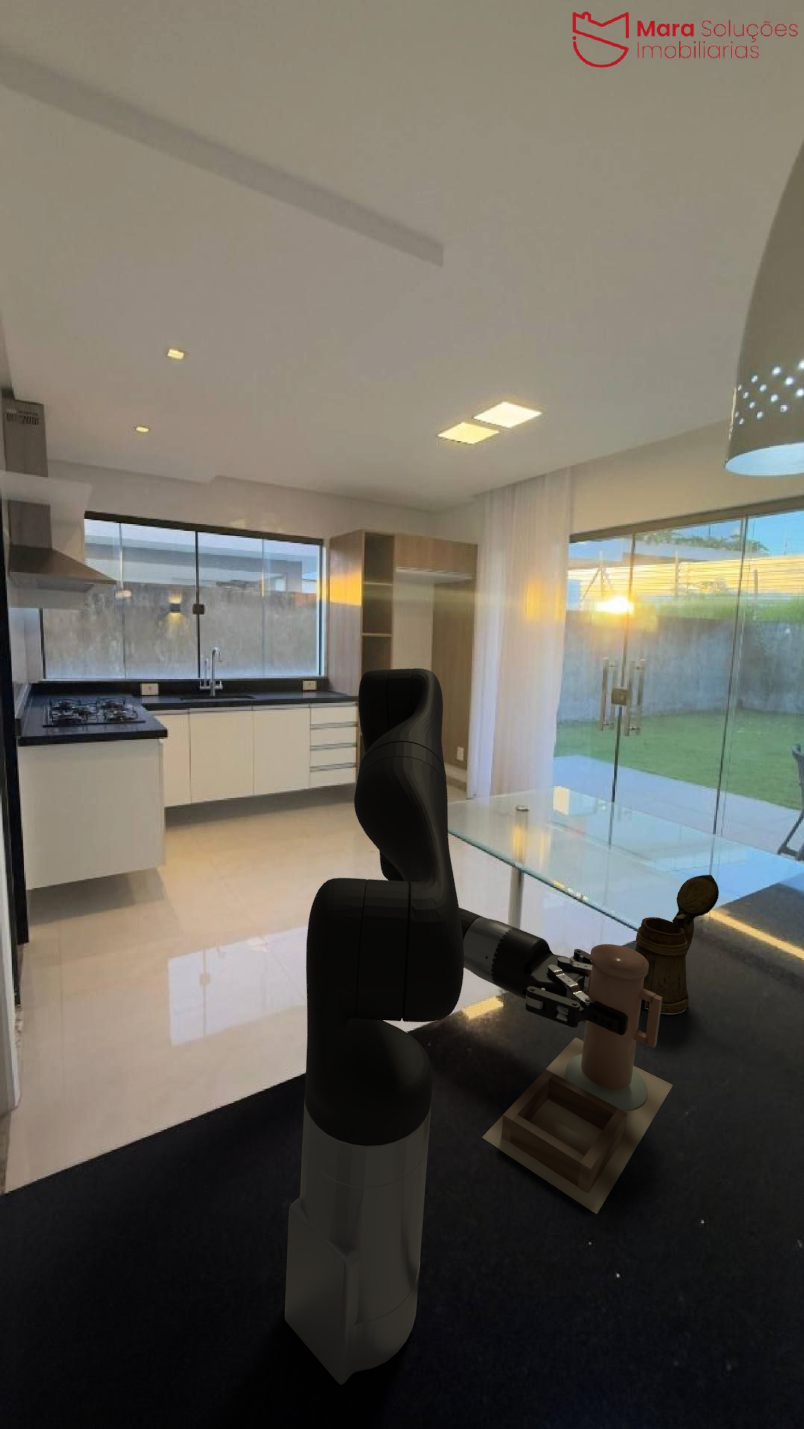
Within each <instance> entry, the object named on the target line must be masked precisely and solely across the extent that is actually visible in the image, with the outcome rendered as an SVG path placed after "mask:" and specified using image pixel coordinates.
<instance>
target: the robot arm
mask: <svg viewBox="0 0 804 1429" xmlns="http://www.w3.org/2000/svg"><path fill="white" fill-rule="evenodd" d="M357 696H358V697H357V698H358V700H357V702H358V703H357V705H358V706H357V707H358V716H359V724H360V730H361V737H362V742H363V749H364V755H363V757H362V759H361V761H360V766H359V769H358V774H357V779H356V784H355V790H354V797H353V805H354V806H353V807H354V811H355V812H354V813H355V816H356V818H357V821H358V822H359V825H360V826H361V828H362V830H363V832H364V834H365V835H366V837H368V838H369V840H370V841H371V842H372V843H373V845H374V846H375V847H376V848H377V849H378V851H379V865H380V870H381V873H382V875H383V877H384V878H385V879H374V878H373V879H372V878H368V879H367V878H358V877H357V878H355V877H354V878H353V877H334V878H330V879H328V880H326V881H324V882H323V883H322V884H321V886H320V887H319V889H318V890H317V892H316V894H315V895H314V896H315V897H314V898H313V901H312V903H311V904H312V905H311V906H310V907H311V908H310V911H309V918H308V922H307V923H308V924H307V933H306V945H305V946H306V947H305V949H306V950H305V952H306V954H305V955H306V956H305V965H306V966H305V975H306V976H305V979H306V1058H305V1059H306V1060H305V1080H304V1081H305V1084H304V1101H303V1102H304V1103H303V1104H304V1105H303V1126H302V1148H301V1165H300V1166H301V1168H300V1190H299V1191H300V1192H299V1193H300V1195H299V1197H298V1198H297V1199H295V1200H294V1201H293V1202H292V1203H291V1204H290V1205H289V1210H288V1223H287V1224H288V1226H287V1227H288V1228H287V1229H288V1230H287V1247H286V1248H287V1251H286V1252H287V1253H286V1255H287V1256H286V1275H285V1276H286V1277H285V1298H284V1300H285V1301H284V1303H285V1304H284V1320H285V1322H286V1323H287V1324H288V1325H289V1327H290V1328H291V1330H293V1331H294V1333H295V1334H296V1335H297V1336H298V1338H299V1339H300V1340H301V1341H302V1342H303V1343H304V1345H305V1346H306V1347H307V1348H308V1349H309V1350H310V1352H311V1353H312V1354H313V1355H314V1356H315V1358H316V1359H317V1360H318V1361H319V1362H320V1363H321V1365H322V1366H323V1367H324V1368H325V1369H326V1371H328V1374H330V1375H331V1376H332V1378H333V1379H334V1380H335V1381H336V1382H337V1383H338V1385H344V1384H345V1383H346V1382H347V1380H348V1379H349V1378H350V1377H352V1376H353V1375H354V1373H357V1372H360V1371H365V1370H371V1369H375V1368H377V1367H378V1366H380V1365H382V1364H385V1363H386V1362H388V1361H389V1360H390V1359H392V1358H393V1357H394V1356H395V1355H396V1354H397V1353H398V1352H399V1351H400V1350H401V1349H402V1347H403V1346H404V1345H405V1343H406V1342H407V1340H408V1339H409V1336H410V1335H411V1332H412V1330H413V1329H414V1328H413V1327H414V1323H415V1320H416V1316H417V1307H418V1306H417V1305H418V1304H417V1303H418V1295H419V1294H418V1293H419V1292H418V1291H419V1281H420V1280H419V1278H420V1265H421V1253H422V1252H421V1251H422V1236H423V1235H422V1234H423V1224H424V1223H423V1220H424V1208H425V1192H426V1180H427V1179H426V1178H427V1163H428V1151H429V1150H428V1149H429V1139H430V1126H431V1125H430V1124H431V1113H432V1111H431V1110H432V1098H433V1097H432V1096H433V1087H434V1086H433V1084H434V1079H433V1077H434V1076H433V1066H432V1063H431V1060H430V1057H429V1055H428V1053H427V1052H426V1050H425V1048H424V1047H423V1046H422V1044H420V1042H419V1041H418V1040H417V1039H416V1038H414V1036H412V1035H411V1034H409V1032H406V1031H405V1030H403V1029H401V1028H400V1027H398V1026H397V1025H394V1024H391V1023H389V1022H401V1021H402V1022H404V1023H408V1022H409V1023H432V1022H438V1021H441V1020H444V1019H445V1018H447V1017H449V1016H450V1015H451V1014H452V1013H453V1011H454V1010H455V1008H456V1006H457V1005H458V1003H459V1000H460V996H461V993H462V989H463V983H464V982H463V981H464V973H465V972H464V970H465V969H466V970H468V971H469V972H471V973H472V974H473V975H475V976H476V977H478V978H480V979H482V980H484V981H486V982H488V983H490V984H492V985H495V986H496V987H499V988H500V989H503V990H505V991H507V992H509V993H511V994H513V995H515V996H517V997H519V998H521V999H523V1000H525V1010H526V1011H527V1012H529V1013H532V1014H534V1015H537V1016H540V1017H542V1018H545V1019H548V1020H551V1021H553V1022H556V1023H559V1024H562V1025H565V1026H568V1027H570V1028H574V1029H575V1028H578V1026H579V1023H581V1022H582V1023H583V1024H586V1023H589V1022H593V1023H595V1024H597V1025H599V1026H601V1027H604V1028H605V1029H608V1030H610V1031H612V1032H615V1033H617V1034H619V1035H624V1034H625V1032H626V1031H627V1026H628V1016H627V1015H626V1014H625V1013H623V1012H621V1011H618V1010H616V1009H614V1008H612V1007H609V1006H606V1005H604V1004H602V1003H600V1002H598V1001H595V1002H594V1003H592V1002H593V1001H592V999H591V998H590V997H589V988H590V979H591V970H592V963H591V961H590V954H591V953H588V952H587V951H585V950H583V949H581V948H575V949H574V950H573V955H572V956H570V957H568V956H565V955H559V954H556V953H555V954H554V952H553V951H552V950H551V948H550V945H549V943H548V941H547V940H546V939H544V938H543V937H540V936H538V935H535V934H534V933H531V932H527V931H525V930H522V929H520V928H518V927H514V926H512V925H510V924H508V923H504V922H503V921H500V920H496V919H492V918H489V917H488V918H487V917H485V916H482V915H480V914H477V913H474V912H473V911H469V910H467V909H466V908H465V909H464V908H463V907H460V906H459V905H460V904H459V900H458V895H457V894H458V893H457V888H456V882H455V875H454V870H453V864H452V859H451V852H450V845H449V844H450V843H449V824H448V823H449V816H448V815H449V811H448V810H449V809H448V807H449V806H448V804H449V803H448V802H449V801H448V799H449V798H448V787H447V786H448V785H447V783H448V782H447V773H446V767H445V766H446V765H445V760H444V759H445V758H444V752H443V742H442V740H443V739H442V738H443V737H442V734H443V716H444V714H443V713H444V702H443V701H444V700H443V699H444V698H443V691H442V687H441V683H440V680H439V679H438V677H437V676H436V674H435V673H434V672H433V671H431V670H430V669H426V668H421V667H420V668H417V667H415V668H414V667H413V668H393V669H391V668H390V669H388V668H387V669H374V670H368V671H365V672H364V673H363V675H362V676H361V679H360V681H359V686H358V695H357ZM586 977H587V978H588V980H587V983H586V982H585V980H586ZM585 983H586V985H585ZM646 1006H647V1001H645V1000H643V999H642V1000H641V1008H640V1012H643V1011H644V1009H645V1008H646ZM558 1008H559V1009H560V1010H562V1011H563V1012H564V1013H562V1012H560V1011H559V1010H558Z"/></svg>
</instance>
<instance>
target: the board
mask: <svg viewBox="0 0 804 1429" xmlns="http://www.w3.org/2000/svg"><path fill="white" fill-rule="evenodd" d="M583 1042H584V1040H582V1039H580V1038H577V1037H574V1038H573V1040H571V1042H570V1043H569V1044H568V1045H567V1046H566V1047H565V1048H564V1049H563V1050H562V1051H561V1052H560V1054H559V1055H557V1057H556V1058H555V1059H554V1060H553V1061H552V1062H551V1063H550V1064H549V1065H548V1066H547V1067H546V1068H545V1069H544V1071H542V1072H541V1073H540V1075H538V1077H537V1078H536V1079H535V1080H534V1081H533V1082H532V1083H531V1084H530V1085H529V1086H528V1087H527V1088H526V1089H525V1090H524V1092H523V1093H522V1094H521V1095H519V1097H518V1098H517V1099H516V1101H515V1102H513V1103H512V1105H511V1106H510V1107H509V1108H508V1109H507V1110H506V1111H505V1112H504V1113H503V1114H502V1115H501V1116H500V1117H499V1119H498V1120H497V1121H496V1122H495V1123H494V1124H493V1125H492V1126H491V1127H490V1128H489V1129H488V1130H487V1131H486V1132H485V1133H484V1135H482V1136H481V1138H482V1139H484V1140H485V1141H486V1142H488V1143H489V1144H491V1145H492V1146H494V1147H495V1148H497V1149H498V1150H499V1151H501V1152H503V1153H505V1154H506V1155H507V1156H508V1157H510V1158H512V1159H513V1160H515V1161H516V1162H518V1163H519V1164H521V1165H522V1166H524V1167H525V1168H527V1169H528V1170H529V1171H531V1172H533V1173H534V1174H535V1175H537V1176H539V1177H540V1178H542V1179H543V1180H544V1181H546V1182H548V1183H549V1184H550V1185H552V1187H553V1186H554V1187H555V1188H556V1189H558V1190H560V1191H561V1192H562V1193H564V1194H565V1195H567V1196H568V1197H569V1198H571V1199H573V1200H575V1201H576V1202H577V1203H579V1204H581V1205H582V1206H583V1207H585V1208H586V1209H588V1210H589V1211H591V1212H592V1213H594V1214H595V1215H597V1214H599V1211H600V1209H601V1208H602V1206H603V1204H604V1202H605V1201H606V1199H607V1198H608V1196H609V1194H610V1193H611V1191H612V1189H613V1188H614V1186H615V1184H616V1183H617V1181H618V1179H619V1177H620V1175H621V1174H622V1173H623V1171H624V1169H625V1167H626V1165H628V1162H629V1160H630V1159H631V1158H632V1156H633V1153H634V1152H635V1150H636V1149H637V1147H638V1145H639V1144H640V1142H641V1140H642V1138H643V1137H644V1135H645V1134H646V1131H648V1129H649V1127H650V1125H651V1123H652V1121H653V1120H654V1118H655V1117H656V1115H657V1113H658V1112H659V1110H660V1108H661V1107H662V1105H663V1104H664V1102H665V1099H666V1098H667V1096H668V1094H669V1093H670V1091H671V1090H672V1088H673V1086H674V1085H673V1084H672V1083H670V1082H668V1081H665V1080H663V1079H662V1078H660V1077H658V1076H655V1075H654V1074H651V1073H649V1072H647V1071H645V1070H643V1069H641V1068H639V1067H637V1066H635V1065H633V1073H632V1081H631V1083H630V1085H629V1086H628V1087H626V1088H623V1089H608V1088H605V1087H602V1086H599V1085H597V1084H595V1083H594V1082H592V1081H591V1080H589V1079H588V1078H587V1077H586V1076H585V1074H584V1073H583V1071H582V1069H581V1060H582V1051H583Z"/></svg>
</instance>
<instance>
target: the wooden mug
mask: <svg viewBox="0 0 804 1429" xmlns="http://www.w3.org/2000/svg"><path fill="white" fill-rule="evenodd" d="M719 891H720V890H719V885H718V883H717V881H716V879H715V877H714V876H713V875H712V874H701V875H697V876H693V877H690V878H688V879H687V880H686V881H685V882H684V883H683V884H682V885H681V887H680V889H679V890H678V892H677V896H676V904H677V905H676V906H677V909H678V910H677V912H676V914H675V916H674V917H673V919H672V920H669V919H665V918H661V917H657V916H649V917H644V918H643V919H642V920H641V924H640V926H639V927H637V928H638V929H637V932H636V936H635V942H636V946H635V949H634V951H636V952H638V953H640V954H641V955H642V956H644V957H645V958H646V960H647V961H648V963H649V968H648V974H647V975H646V976H645V977H644V984H643V989H646V990H648V991H651V992H653V993H655V994H656V995H658V996H661V997H662V1004H661V1013H679V1012H682V1011H683V1010H685V1009H686V1008H687V1007H688V1005H689V1002H690V1001H689V1000H690V999H689V990H688V986H687V985H688V984H687V954H688V953H689V950H690V946H691V945H692V942H693V936H694V931H695V930H694V929H695V920H696V918H698V917H702V916H704V915H706V914H709V913H710V911H712V909H713V908H714V907H715V906H716V904H717V902H718V899H719V896H720V895H719V894H720V892H719ZM649 1005H650V1002H648V1001H647V1006H646V1008H648V1009H649ZM689 1006H690V1005H689ZM688 1008H689V1007H688Z"/></svg>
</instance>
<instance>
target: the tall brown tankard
mask: <svg viewBox="0 0 804 1429" xmlns="http://www.w3.org/2000/svg"><path fill="white" fill-rule="evenodd" d="M589 954H590V961H591V963H592V970H591V979H590V988H589V996H588V997H590V998H591V999H592V1001H593V1002H592V1003H594V1002H595V1001H598V1002H600V1003H602V1004H604V1005H606V1006H609V1007H612V1008H614V1009H616V1010H618V1011H621V1012H623V1013H625V1014H626V1015H627V1016H628V1026H627V1031H626V1032H625V1034H624V1035H619V1034H617V1033H615V1032H612V1031H610V1030H608V1029H605V1028H604V1027H601V1026H599V1025H597V1024H595V1023H593V1022H589V1023H584V1024H585V1026H584V1035H583V1041H584V1042H583V1051H582V1060H581V1069H582V1071H583V1073H584V1074H585V1076H586V1077H587V1078H588V1079H589V1080H591V1081H592V1082H594V1083H595V1084H597V1085H599V1086H602V1087H605V1088H608V1089H623V1088H626V1087H628V1086H629V1085H630V1083H631V1081H632V1073H633V1066H635V1065H634V1064H635V1058H636V1057H635V1056H636V1050H637V1049H636V1048H637V1042H638V1043H640V1044H642V1045H644V1046H647V1047H650V1048H653V1049H654V1048H656V1046H657V1043H658V1034H659V1028H660V1027H659V1026H660V1019H661V1014H660V1012H661V1004H662V997H661V996H658V995H656V994H655V993H653V992H651V991H648V990H646V989H643V984H644V977H645V976H646V975H647V974H648V968H649V963H648V961H647V960H646V958H645V957H644V956H642V955H641V954H640V953H638V952H636V951H635V949H632V948H629V947H627V946H623V945H620V944H619V945H618V944H611V943H603V944H601V943H600V944H597V945H595V946H593V947H592V948H591V949H590V953H589ZM642 999H643V1000H645V1001H648V1002H650V1005H649V1011H648V1014H647V1022H646V1029H645V1030H646V1031H645V1032H643V1031H641V1030H639V1022H640V1017H641V1015H640V1014H641V1011H640V1008H641V1000H642Z"/></svg>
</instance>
